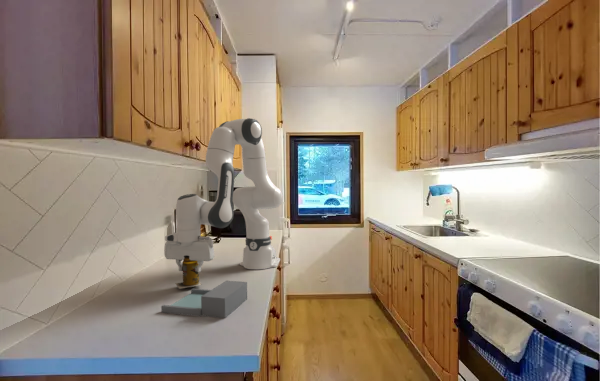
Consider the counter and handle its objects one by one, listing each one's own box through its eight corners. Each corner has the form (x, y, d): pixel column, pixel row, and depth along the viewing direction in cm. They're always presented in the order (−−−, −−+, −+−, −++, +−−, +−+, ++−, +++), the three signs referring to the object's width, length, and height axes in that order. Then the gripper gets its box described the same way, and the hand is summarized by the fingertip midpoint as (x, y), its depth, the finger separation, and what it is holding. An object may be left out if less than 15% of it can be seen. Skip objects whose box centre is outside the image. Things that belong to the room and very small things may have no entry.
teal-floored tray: (192, 293, 116) (192, 277, 116) (247, 298, 110) (247, 281, 110) (161, 312, 99) (161, 293, 99) (224, 318, 94) (223, 299, 94)
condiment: (202, 284, 122) (201, 254, 122) (179, 289, 118) (178, 257, 117) (197, 280, 128) (196, 250, 128) (175, 284, 124) (174, 254, 123)
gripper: (216, 235, 122) (217, 270, 123) (171, 233, 128) (173, 267, 128) (208, 238, 116) (209, 275, 117) (161, 236, 122) (162, 271, 122)
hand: (189, 271), depth 123 cm, fingers closed on condiment, 6 cm apart
